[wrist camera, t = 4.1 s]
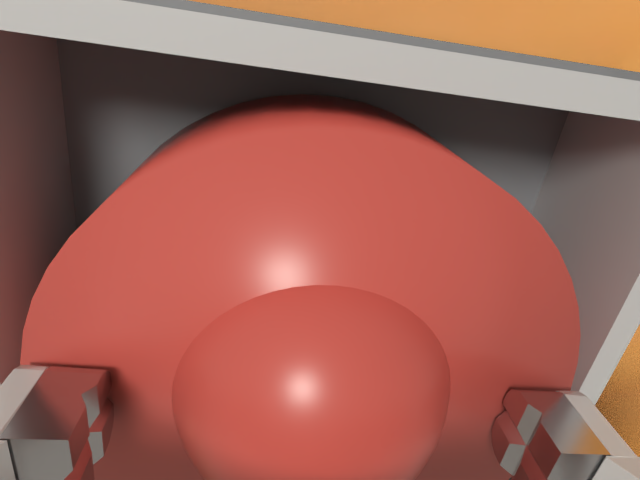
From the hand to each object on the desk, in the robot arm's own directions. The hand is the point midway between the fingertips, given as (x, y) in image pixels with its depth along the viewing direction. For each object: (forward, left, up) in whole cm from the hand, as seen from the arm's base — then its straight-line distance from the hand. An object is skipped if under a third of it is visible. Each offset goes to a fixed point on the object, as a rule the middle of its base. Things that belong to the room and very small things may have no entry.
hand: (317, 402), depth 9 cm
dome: (0, 0, -4) cm, 4 cm away
